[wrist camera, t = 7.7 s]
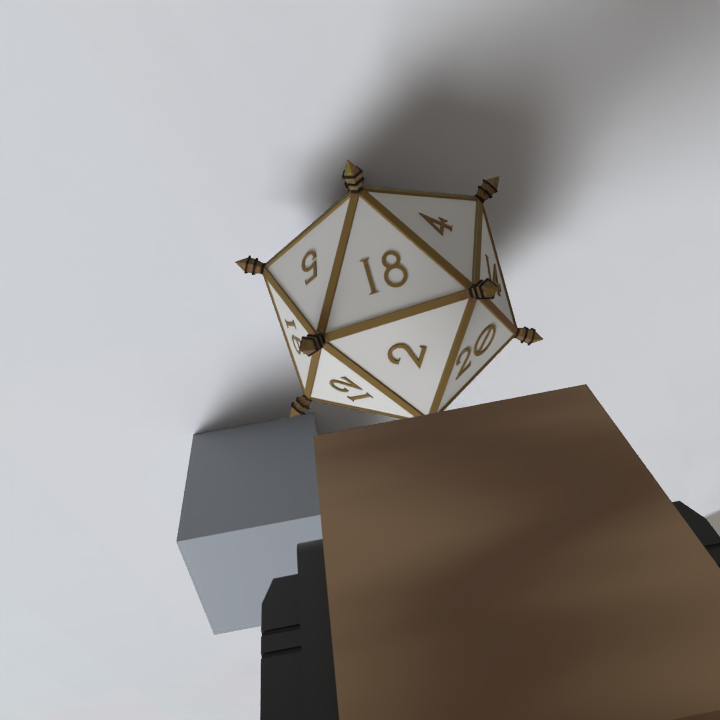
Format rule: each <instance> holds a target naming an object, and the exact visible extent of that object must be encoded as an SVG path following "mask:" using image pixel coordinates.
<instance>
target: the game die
mask: <svg viewBox="0 0 720 720" xmlns="http://www.w3.org/2000/svg"><path fill="white" fill-rule="evenodd" d="M362 172H363V171H362V170H361V169H360V168H359V167H357V166H355V165H353V164H352V163H351V162H350V161H349V160H348V161H347V165H346V169H345V170H344V172H343V175H342V178H343V179H345V181H346V182H345V186H346V188H348V189H349V190H348V193H346V194H345V195H344V196H343V197H342V198H341V199H340V200H338V201H337V202H336V203H335V204H334V205H333V206H331V207H330V208H329V209H328V210H327V211H326V212H325V213H323V214H322V215H321V216H320V217H319V218H318V219H316V220H315V221H314V222H313V223H312V224H311V225H310V226H308V227H307V228H306V229H305V230H304V231H303V232H301V233H300V234H299V235H298V236H297V237H296V238H295V239H293V240H292V241H291V242H290V243H289V244H288V245H286V246H285V247H284V248H283V249H282V250H281V251H280V252H278V253H277V254H276V255H275V256H274V257H273V258H271V259H270V260H269V261H268V262H267V263H262V262H260V261H258V258H256V259H253V258H251V256H249V257H248V258H245V259H242V260H239V261H237V262H235V263H237V264H238V265H239V266H240V267H241V268H242V269H243V270H244V271H245V273H248V272H249V273H252V275H255V274H256V273H261V274H263V276H264V279H265V282H266V285H267V288H268V291H269V293H270V296H271V299H272V302H273V305H274V308H275V311H276V314H277V317H278V320H279V323H280V326H281V328H282V331H283V334H284V337H285V340H286V343H287V346H288V349H289V352H290V355H291V358H292V361H293V363H294V366H295V369H296V372H297V375H298V378H299V381H300V384H301V387H302V390H303V393H304V394H303V395H302V396H301V397H297V398H296V401H295V402H292V404H291V406H292V409H291V413H290V417H294V416H297V415H301V414H303V415H305V413H304V412H305V411H306V409H309V404H310V402H311V401H312V400H314V401H319V402H323V403H328V404H333V405H338V406H343V407H348V408H352V409H357V410H362V411H367V412H372V413H376V414H381V415H386V416H391V417H396V418H400V419H406V418H411V417H416V416H422V415H427V414H432V413H437V412H443V411H444V410H445V409H446V408H447V407H448V406H449V405H450V403H451V402H452V401H453V400H454V399H455V398H456V397H457V396H458V395H459V394H460V393H461V392H462V391H463V390H464V389H465V388H466V387H467V386H468V385H469V384H470V383H471V382H472V381H473V379H474V378H475V377H476V376H477V375H478V374H479V373H480V372H481V371H482V370H483V369H484V368H485V367H486V366H487V365H488V364H489V363H490V362H491V361H492V360H493V359H494V358H495V356H496V355H497V354H498V353H499V352H500V351H501V350H502V349H503V348H504V347H505V346H506V345H507V344H508V343H509V342H510V341H511V340H512V339H513V338H517V339H518V340H520V341H521V343H523V342H525V343H528V345H530V344H531V343H534V342H537V341H540V340H543V338H542V337H541V336H540V335H539V334H537V333H536V332H535V331H536V330H535V329H533V328H531V329H528V328H527V327H524V328H517V325H516V322H515V318H514V314H513V311H512V307H511V303H510V300H509V296H508V292H507V289H506V285H505V282H504V278H503V274H502V271H501V267H500V263H499V260H498V256H497V252H496V249H495V245H494V242H493V238H492V234H491V231H490V227H489V223H488V220H487V216H486V212H485V209H484V205H483V203H484V201H485V200H487V199H488V198H489V199H490V198H492V195H493V194H494V193H496V192H498V191H497V186H498V181H499V176H498V177H495V178H492V179H488V180H483V184H482V185H481V186H478V188H479V189H478V191H477V194H476V195H474V196H468V195H457V194H446V193H434V192H423V191H412V190H400V189H389V188H377V187H366V186H362V183H363V181H364V178H363V177H362V175H361V173H362Z"/></svg>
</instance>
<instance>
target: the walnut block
mask: <svg viewBox="0 0 720 720" xmlns="http://www.w3.org/2000/svg"><path fill="white" fill-rule="evenodd" d="M313 440H314V451H315V462H316V472H317V483H318V494H319V505H320V516H321V527H322V537H323V548H324V559H325V570H326V581H327V592H328V603H329V613H330V624H331V635H332V646H333V657H334V668H335V678H336V689H337V700H338V711H339V720H720V568H719V567H718V565H717V564H716V562H715V561H714V560H713V558H712V557H711V556H710V554H709V553H708V551H707V550H706V549H705V547H704V546H703V545H702V543H701V542H700V540H699V539H698V538H697V536H696V535H695V533H694V532H693V531H692V529H691V528H690V527H689V525H688V524H687V522H686V521H685V520H684V518H683V517H682V516H681V514H680V513H679V511H678V510H677V509H676V507H675V506H674V505H673V503H672V502H671V500H670V499H669V498H668V496H667V495H666V494H665V492H664V491H663V489H662V488H661V487H660V485H659V484H658V483H657V481H656V480H655V478H654V477H653V476H652V474H651V473H650V472H649V470H648V469H647V467H646V466H645V465H644V463H643V462H642V460H641V459H640V458H639V456H638V455H637V454H636V452H635V451H634V449H633V448H632V447H631V445H630V444H629V443H628V441H627V440H626V438H625V437H624V436H623V434H622V433H621V432H620V430H619V429H618V427H617V426H616V425H615V423H614V422H613V421H612V419H611V418H610V416H609V415H608V414H607V412H606V411H605V410H604V408H603V407H602V405H601V404H600V403H599V401H598V400H597V398H596V397H595V396H594V394H593V393H592V392H591V390H590V389H589V387H588V386H587V385H586V384H585V385H580V386H574V387H569V388H564V389H559V390H553V391H548V392H543V393H537V394H532V395H527V396H522V397H516V398H511V399H506V400H501V401H495V402H490V403H485V404H479V405H474V406H469V407H464V408H458V409H453V410H448V411H443V412H437V413H432V414H427V415H422V416H416V417H411V418H406V419H400V420H395V421H390V422H385V423H379V424H374V425H369V426H364V427H358V428H353V429H348V430H342V431H337V432H332V433H327V434H321V435H316V436H313Z"/></svg>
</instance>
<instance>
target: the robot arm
mask: <svg viewBox="0 0 720 720" xmlns="http://www.w3.org/2000/svg"><path fill="white" fill-rule="evenodd" d="M672 503H673V505H674V506H675V507H676V509H677V510H678V511H679V513H680V514H681V516H682V517H683V518H684V520H685V521H686V522H687V524H688V525H689V527H690V528H691V529H692V531H693V532H694V533H695V535H696V536H697V538H698V539H699V540H700V542H701V543H702V545H703V546H704V547H705V549H706V550H707V551H708V553H709V554H710V556H711V557H712V558H713V560H714V561H715V562H716V564H717V565H718V567H719V568H720V537H719V535H718V534H717V533H716V531H715V530H714V529H713V527H712V526H711V525H710V523H709V522H708V521H707V519H705V518H704V517H703V516H701V515H700V514H698V513H697V512H695V511H694V510H692V509H691V508H689V507H688V506H686V505H685V504H683V503H682V502H681V501H676V502H672ZM297 566H298V574H294V575H289V576H284V577H278V578H273V580H272V582H271V584H270V587H269V589H268V591H267V593H266V595H265V598H264V600H263V602H262V609H261V632H262V637H261V655H262V659H261V713H260V720H339V711H338V700H337V689H336V678H335V668H334V657H333V646H332V635H331V624H330V613H329V603H328V592H327V581H326V570H325V559H324V548H323V539H319V540H314V541H308V542H303V543H298V544H297Z"/></svg>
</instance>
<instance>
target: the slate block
mask: <svg viewBox="0 0 720 720" xmlns="http://www.w3.org/2000/svg"><path fill="white" fill-rule="evenodd" d="M316 435H318V432H317V428H316V423H315V419H314V414H313V413H309V414H305V415H298V416H294V417H287V418H282V419H277V420H271V421H266V422H260V423H255V424H249V425H244V426H238V427H233V428H228V429H222V430H217V431H211V432H206V433H200V434H195V435H193V441H192V447H191V454H190V460H189V466H188V473H187V479H186V485H185V491H184V498H183V504H182V510H181V517H180V523H179V529H178V536H177V544H178V547H179V549H180V552H181V554H182V556H183V559H184V561H185V564H186V566H187V569H188V571H189V574H190V576H191V579H192V581H193V584H194V586H195V588H196V591H197V593H198V596H199V598H200V601H201V603H202V606H203V608H204V611H205V613H206V615H207V618H208V620H209V623H210V625H211V628H212V630H213V633H214V635H216V634H221V633H226V632H231V631H237V630H242V629H247V628H253V627H258V626H261V609H262V602H263V600H264V598H265V595H266V593H267V591H268V589H269V587H270V584H271V582H272V580H273V578H278V577H284V576H289V575H294V574H298V566H297V544H298V543H303V542H308V541H314V540H319V539H323V537H322V527H321V516H320V505H319V494H318V483H317V472H316V462H315V451H314V440H313V436H316Z"/></svg>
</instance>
